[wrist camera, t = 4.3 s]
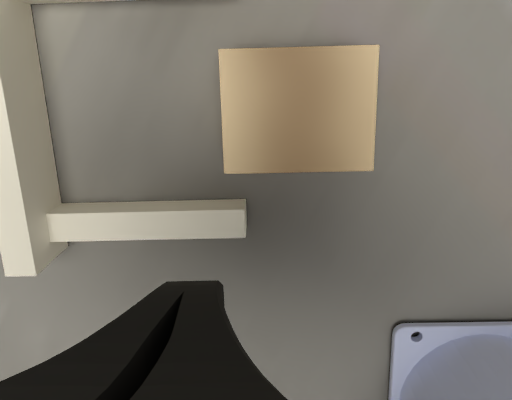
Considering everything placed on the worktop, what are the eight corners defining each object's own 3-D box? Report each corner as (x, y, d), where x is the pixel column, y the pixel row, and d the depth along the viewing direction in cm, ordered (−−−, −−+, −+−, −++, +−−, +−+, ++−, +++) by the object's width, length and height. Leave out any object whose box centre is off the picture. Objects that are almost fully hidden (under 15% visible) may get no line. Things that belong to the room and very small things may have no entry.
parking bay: (236, -63, 17) (230, -88, 14) (247, 242, 20) (244, 271, 18) (-11, -53, 17) (-66, -76, 14) (41, 246, 21) (5, 276, 18)
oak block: (355, 48, 18) (379, 44, 14) (351, 149, 19) (373, 170, 16) (228, 52, 18) (218, 49, 15) (232, 152, 19) (223, 173, 16)
